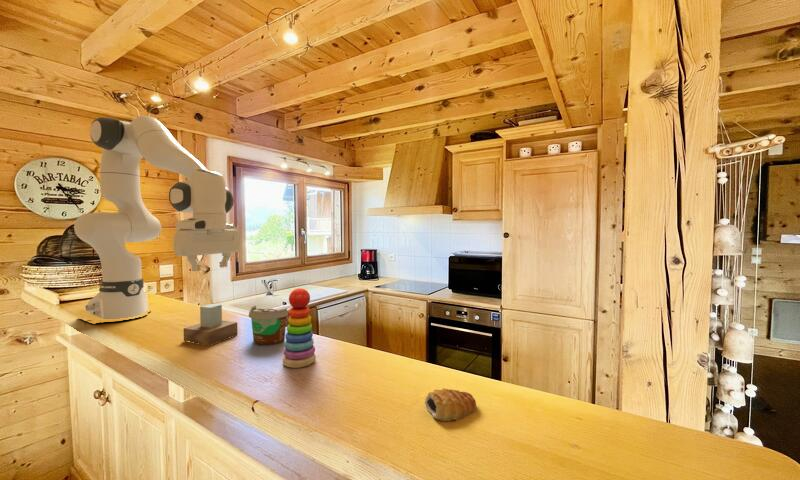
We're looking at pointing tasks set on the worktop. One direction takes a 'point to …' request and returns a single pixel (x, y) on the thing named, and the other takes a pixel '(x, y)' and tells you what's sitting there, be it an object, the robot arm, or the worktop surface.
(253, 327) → the food container
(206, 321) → the blue-grey block
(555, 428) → the worktop surface
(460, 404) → the pastry
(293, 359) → the stacking toy
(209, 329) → the walnut base
